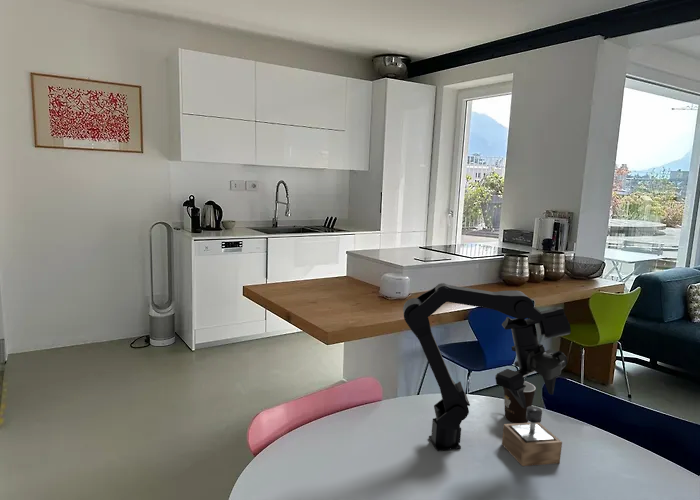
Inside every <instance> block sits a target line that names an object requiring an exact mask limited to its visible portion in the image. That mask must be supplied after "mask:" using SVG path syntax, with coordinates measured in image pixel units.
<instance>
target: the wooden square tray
mask: <svg viewBox="0 0 700 500" xmlns="http://www.w3.org/2000/svg"><path fill="white" fill-rule="evenodd" d="M530 423H531V422H527V423H504V424H503V428H502V429H503V430H502V439H501V445H502V446H503V447H504V449H506V451H508V452H509V453H510V455H512V457H513V458H514V459H515V460H516V461H517V462H518V463H519V464H520V466H522V467H527V466H529V467H530V466H541V465H543V466H544V465H553V464H554V465H555V464H560V463H561V455H562V448H563V446H562V445H563V441H561V439H559V438H558V437H557V436H556V435H554V434H553V433H552V432H551V431H550V430H549V429H547V428H546V426H544V425H543V424H541V422H540V423H536V424H538V425H539V426H540V427H541V428H542V429H543V430H545V431H546V432H547V433H548V434H549V435H550V436H551V437H553V438H554V441H544V442H530V443H526V442H525V441H524V440H523V439H522V438H521V437H520V436H519V435H518V434H517V433H516V432H515V431H514V430H512V429H511V426H514V425H530Z"/></svg>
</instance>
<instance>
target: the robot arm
mask: <svg viewBox="0 0 700 500" xmlns="http://www.w3.org/2000/svg"><path fill="white" fill-rule="evenodd" d="M446 303H452V304H456V305H457V304H458V305H465V306H471V307H477V308H483V309H491V310H494V311H497V312H499V313H501V314H504V315H506V318H505V319H504V321H503V322H502V323H501V326H502V327H503V328H504V330H507V331H508V330H511V333H512V339H513V346H511V351H512V352H515V355H516V361H514V366H515V367H517V368H519V369H516V370H512V369H509V368H505V369H504V370H501V371H499V372H497V373H496V375H495V378H494V379H495V382H496V383H495V384H496V385H497V386H500V387H502V388H503V387H505V388H507V389H508V390H509V391H510V392H511V393H512V394H513V396H514V397H515V399H516V400H517V401H518V403H519V404H520V405H521V407H522V408H524V409H525V408H526V402H525V396H524V391H523V390H524V388H525V387H526V385H523V384H524V381H525V377H527V376H529V375H530V374H533V373H535V372H536V373H537V374H539V375H540V376H542V378H543V382H544V385H545V388H546V390H547V392H548V393H547V394H549V395H552V396H553V395H554V391H555V385H556V379H557V377H559V376H560V375H561V374H562V370H564V368H565V367H566V366H567V365H568V359H567V358H568V357H567V356H566V355H565V352H563V351H561V350H558V351H556V350H553V349H547V350H545V347H544V344H541V343H540V342H539V336H543V337H544V338H545V339H552V338H557V337H563V336H568V335H570V334H572V333H571V331H572V329H571V324H570V322H569V320H568V317H567V315H566V313H565V310H564V308H563V307H561V306H557V307H554V308H552V309H546V310H542V311H540V310H539V309H538V308H537V307H536V306H535V307H534V302H533V300H532V299H531V297H529V296H528V295H526V294H525V293H524V292H523V291H520V290H502V291H501V290H500V291H489V290H484V289H477V288H470V287H462V286H457V285H451V284H447V283H444V282H441V283H438V284H436V285H435V286H434V287H433V288H431V289H429V290H427V291H426V292H423V293H421V294H420V295H418V296H417V297H413V298H410V299H408V300H406V302H404V304H403V307H402V309H403V310H402V312H403V319H404V321H405V323H406V325H407V326H408V328H409V329H410V331H411V333H413V334H414V335H415V337H416V338H417V340H418V341H419V344H420V346H421V348H422V351H423V352H424V355H425V358H426V360H427V362H428V364H429V366H430V369H431V371H432V373H433V376H434V378H435V381H436V383H437V385H438V388H439V391H440V395H441V399H440V400H439V401H438V402H437V403H435V404H434V405H433V409H434V413H435V418H434V417H433V418H432V420H431V421H432V423H431V435H429V436H428V439H429V441H430V442H431V443H432V445H433V447H434V448H435V449H436V451H438V452H440V451H450V450H451V451H452V450H454V451H455V450H461V449H462V446H461V445H460V443H461V439H462V438H461V435H462V427H461V423H462V421H464V420H465V419H466V418H467V417H468V415H469V414H470V411H469V407H471V403H470V401H469V398H468V396H467V393H466V392H465V390H464V387H463V385H462V381H458V382H457V383H456V382H455V381H454V380H453V377H451V373H450V372H449V370H448V367H447V364H446V362H445V360H444V358H443V355H442V353H441V350H440V348H439V346H438V343H437V342H436V341H437V340H436V339H435V337H434V334H433V332H432V328H431V323H430V320H429V317H430V316H432V315H433V314H434V313H435V312H436V311H438V309H440V308H441V307H442V306H443V305H444V304H446ZM512 317H513V318H512ZM538 335H539V336H538Z"/></svg>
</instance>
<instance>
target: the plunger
mask: <svg viewBox="0 0 700 500" xmlns="http://www.w3.org/2000/svg"><path fill="white" fill-rule="evenodd" d="M542 416H543V409H542V408H540V407H537V406H534V405H532V406H529V407H527V411H526V419H527V420H528V422H529V423H530V425H514V426H511V429H512V430H514V431H515V432H516V433H517V434H518V435H519V436H520V437H521V438H522V439H523V440H524V441H525V442H526V443H530V442H544V441H554V438H553V437H551V436H550V435H549V434H548V433H547V432H546V431H545V430H543V429H542V428H541V427H540V426H539V425H538V424H536V423H540V424H541V423H542Z"/></svg>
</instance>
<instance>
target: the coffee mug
mask: <svg viewBox="0 0 700 500" xmlns="http://www.w3.org/2000/svg"><path fill="white" fill-rule="evenodd" d="M523 385H526V387H525V388H524V390H523V391H524V396H525V402H526V408H525V409H524V408H522V407H521V405H520V404H519V403H518V401H517V400H516V399H515V397H514V396H513V394H512V393H511V392H510V391H509V390H508V389H507V388H505V387H502V389H503V395H504V397H503V399H504V401H503V402H504V417H505V419H506V420H507V421H509V422H510V423H512V424H515V423H529V421H528V420H527V419H526V411H527V407H529V406H533V401H534V397H535V392H536V390H537V389H536V388H537V387H536V386H535V385H534V384H533V383H530V382H528V381H526V380H524V384H523Z"/></svg>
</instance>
